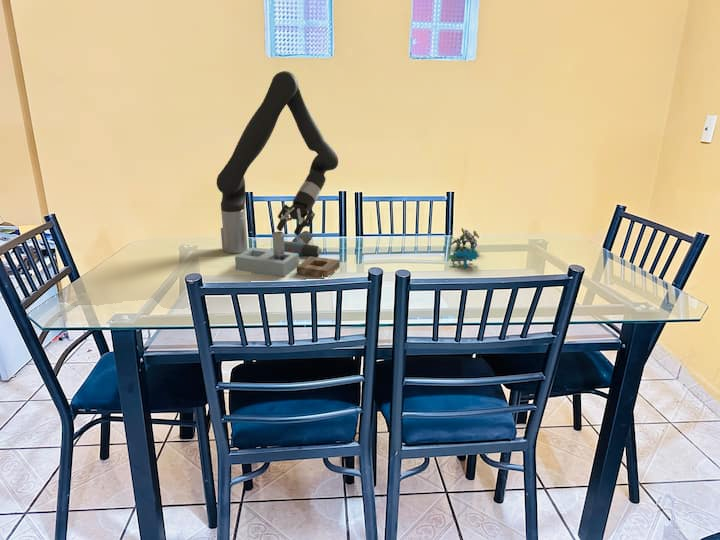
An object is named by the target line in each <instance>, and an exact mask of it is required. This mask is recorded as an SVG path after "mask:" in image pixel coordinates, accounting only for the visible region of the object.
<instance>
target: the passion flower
mask: <svg viewBox="0 0 720 540" xmlns="http://www.w3.org/2000/svg"><path fill="white" fill-rule="evenodd" d="M461 232H462V234H461V235H460V236H459V237H457V238H455V237H453V236H454V235H453V234H450V239H451V240H452V239H454V241H452V242H451V244H450V246H452V245H454V244H455V243H456V246H455V249H454V251H456V250H457V248H459V247H460V246H461V244H462V246H463V247H464V246H466V245H467V243H469V244H470V250H473V252H474V251H476V252H477V250H476V247H478V243H477V239H479V238H480V236H479V234H478V233H477V231H476V230H473V234H472V232H470V231H469V230H467V229H465V230H464V228H463V227H462V228H461ZM475 237H476V238H477V239H476V238H475Z"/></svg>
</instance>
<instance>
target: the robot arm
mask: <svg viewBox="0 0 720 540" xmlns="http://www.w3.org/2000/svg"><path fill="white" fill-rule="evenodd" d="M286 106H287V107H288V109H289V110H290V112H291V114H292V116H293V118H294V121H295V124H296V127H297V129H298V131H299V133H300V135H301V137H302V139H303V142H305V144H306V146H307V148H308V150H310V151H312V152H315V153H316V154H317V155H315V157H314V158H313V160H312V162H311V165H310V169H309V173H308V174H307V176H306V178H305V180H304V182H303V183H302V185H300V187H299V190H298V191H297V193H296V195H295V196H294V198H293V201H292V205H291V206H288V204H284V205H283V207H282V208H281V210H280V212H279V213H278V215H277V219H279V222H278V224H277V226H276V229H277V230H278V232H283V231H282V230H283V229H284V227H285V225H286V223H288V222H289V221H292V220H297V221H298V224H297V226H296V227H295V229H294V231H293V234H294V235H295V236H297V235H299V234H300V233H302V232H303V229H304V228H306V227H307V228H309V227H310V226H311V224H312V222H313V220H314V217H315V216H316V213H315V212H314V211H313V210H312V209H313V207H314V206H315V203H316V201H317V199H318V198H319V196H320V193H321V191H322V189H323V187H324V185H325V184H326V179H327V178H326V175H325V174H326V173H327V172H328V171H333V170H336V168H337V167H338V165H339V157H338V155H337V153H336V151H335V150H334V148H333V147H331V145H330V144H329V143H328V142H327V141H326V140H325V138H324V136H323V134H322V132H321V130H320V129H319V127H318V125H317V123H316V121H315V119H314V117H313V116H312V114H311V112H310V111H309V109H308V106H307V105H306V102H305V100H304V98H303V95H302V93H301V89H300V87H299V82H298V79H297V77H296V76H295V75H294V73H292V72H290V71H287V70H283V71H279V72H277V73H276V74H275V75H273V77H272V80H271V82H270V85H269V87H268V90H267V92H266V94H265V97H264V99H263V101H262V103H261V104H260V105H259V107H258V108H257V110H255V113H254V114H253V116H252V117H251V118H250V120H249V122H248V123H247V125H246V126H245V128H244V130H243V132H242V133H241V136H240V137H239V140H238V142H237V144H236V145H235V148H234V151H233V152H232V155H231V157H230V158H229V159H228V161H227V163H226V164H225V165H224V167H223V169H222V170H221V171H220V173H219V174H217V177H216V187H217V189H218V191H219V192H220V193H221V196H222V197H221V202H220V211H221V213H220V214H221V222H222V223H221V224H222V227H220V235H221V236H220V237H221V238H220V239H221V248H222V250H221V251H223V252H225V253H227V254H241V253H243V252H244V251H246V250H248V249H249V248H248V235H247V221H246V206H245V205H246V181H245V175H246V173H247V170H249V167H250V166H251V165H252V163H253V162H254V161H255V160H256V159H257V157H259V156H260V154H261V152H262V151H263V149H264V148H265V146H266V145H267V144H268V141H269V139H270V138H271V136H272V133H273V131H274V129H275V127H276V125H277V122H278V119H279V117H280V115H281V113H282V112H283V110H284V108H285V107H286Z"/></svg>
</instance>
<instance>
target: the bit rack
mask: <svg viewBox="0 0 720 540" xmlns="http://www.w3.org/2000/svg"><path fill="white" fill-rule="evenodd" d="M234 260H235V261H234V263H235V270H236V271H237V270H238V271H243V272H244V271H245V272H249V273H250V272H251V273H257V274H261V275H263V274H264V275H269V276H274V277H275V276H276V277H283V278H285V277H286V276H288V275H290V274H291V273H292V272H293V271H294V270H297V266H298V265H299V264H300V255H299V254H298V253H291V252H285V259H284V260H276V259H274V253H273V249H267V248H260V247H253V246H252V247H250V248H248V250H246V251H244V252H242V253H238V254H237V255H236V256H234Z"/></svg>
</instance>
